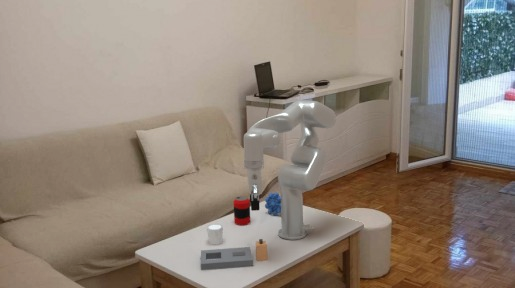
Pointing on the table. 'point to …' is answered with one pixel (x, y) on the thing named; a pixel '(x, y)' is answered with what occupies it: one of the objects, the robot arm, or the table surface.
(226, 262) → the socket plate
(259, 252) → the block
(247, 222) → the soda can
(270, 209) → the grapes
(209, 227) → the white short cylinder
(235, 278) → the table surface
